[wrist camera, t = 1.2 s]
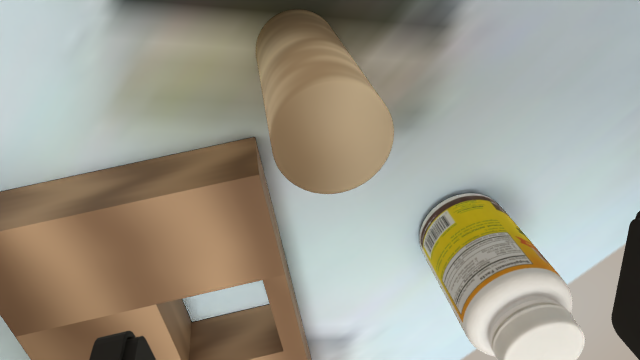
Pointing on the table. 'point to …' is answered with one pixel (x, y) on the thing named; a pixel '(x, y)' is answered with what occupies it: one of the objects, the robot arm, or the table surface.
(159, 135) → the table surface
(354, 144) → the peg
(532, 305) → the supplement bottle
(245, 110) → the table surface
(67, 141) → the table surface
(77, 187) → the socket block
